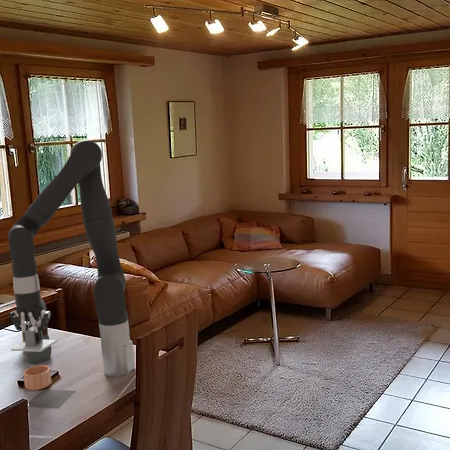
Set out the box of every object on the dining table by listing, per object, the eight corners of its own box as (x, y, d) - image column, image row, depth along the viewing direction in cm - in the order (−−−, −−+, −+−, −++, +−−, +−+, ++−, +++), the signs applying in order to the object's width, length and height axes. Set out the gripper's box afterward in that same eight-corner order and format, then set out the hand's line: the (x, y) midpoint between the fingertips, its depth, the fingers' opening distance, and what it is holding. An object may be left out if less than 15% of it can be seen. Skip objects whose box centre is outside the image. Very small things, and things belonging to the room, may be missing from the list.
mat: (76, 392, 179) (75, 390, 179) (58, 409, 168) (58, 408, 168) (43, 390, 181) (42, 389, 181) (23, 407, 170) (23, 406, 170)
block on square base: (56, 341, 187) (55, 324, 187) (40, 351, 177) (39, 333, 177) (28, 340, 189) (27, 323, 189) (11, 350, 180) (9, 332, 179)
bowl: (56, 380, 188) (54, 365, 187) (43, 391, 180) (41, 376, 180) (33, 379, 190) (31, 364, 189) (20, 390, 182) (18, 375, 181)
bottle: (51, 362, 203) (41, 278, 198) (23, 366, 201) (13, 281, 196) (53, 352, 212) (44, 271, 207) (27, 355, 210) (16, 274, 205)
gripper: (53, 285, 182) (59, 338, 185) (13, 285, 185) (19, 338, 188) (41, 292, 175) (47, 348, 178) (-1, 292, 178) (6, 346, 181)
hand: (33, 342), depth 183 cm, fingers closed on block on square base, 3 cm apart
